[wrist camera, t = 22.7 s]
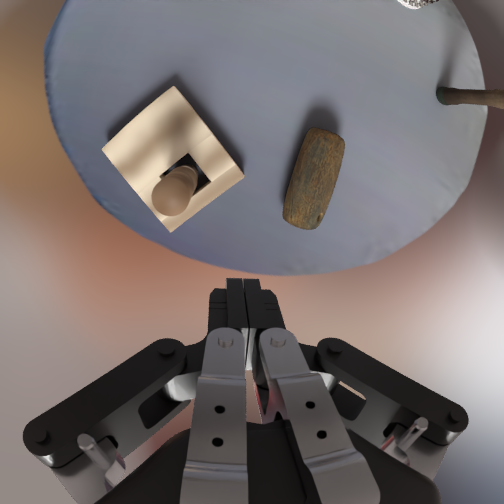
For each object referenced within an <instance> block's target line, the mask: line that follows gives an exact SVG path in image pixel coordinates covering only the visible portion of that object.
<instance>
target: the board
mask: <svg viewBox="0 0 504 504" xmlns="http://www.w3.org/2000/svg"><path fill="white" fill-rule="evenodd" d="M102 151H103V152H104V153H105V154H106V156H107V157H108V158H109V159H110V161H111V162H112V163H113V164H114V166H115V167H116V168H117V169H118V171H119V172H120V173H121V174H122V176H123V177H124V178H125V179H126V181H127V182H128V183H129V184H130V185H131V187H132V188H133V189H134V190H135V191H136V193H137V194H138V195H139V196H140V197H141V199H142V200H143V201H144V202H145V203H146V205H147V206H148V207H149V208H150V209H151V210H152V212H153V213H154V214H155V215H156V216H157V217H158V219H159V220H160V221H161V222H162V223H163V224H164V226H165V227H166V228H167V229H168V230H169V231H170V232H172V231H173V230H175V229H176V228H177V227H179V226H180V225H181V224H182V223H184V222H185V221H186V220H187V219H189V218H190V217H191V216H193V215H194V214H195V213H197V212H198V211H199V210H200V209H202V208H203V207H204V206H206V205H207V204H208V203H210V202H211V201H212V200H214V199H215V198H216V197H218V196H219V195H221V194H222V193H223V192H225V191H226V190H227V189H229V188H230V187H231V186H233V185H234V184H236V183H237V182H238V181H240V180H241V179H243V178H244V177H245V176H244V173H243V172H242V171H241V169H240V168H239V167H238V165H237V164H236V163H235V161H234V160H233V159H232V157H231V156H230V155H229V153H228V152H227V151H226V149H225V148H224V147H223V146H222V144H221V143H220V142H219V140H218V139H217V138H216V136H215V135H214V134H213V133H212V131H211V130H210V129H209V128H208V126H207V125H206V124H205V122H204V121H203V120H202V119H201V117H200V116H199V115H198V114H197V112H196V111H195V110H194V109H193V107H192V106H191V105H190V104H189V102H188V101H187V100H186V99H185V97H184V96H183V95H182V94H181V92H180V91H179V90H178V89H177V88H176V87H175V86H172V87H171V88H170V89H169V90H167V91H166V92H165V93H163V94H162V95H161V96H160V97H158V98H157V99H156V100H155V101H154V102H152V103H151V104H150V105H149V106H148V107H146V108H145V109H144V110H143V111H142V112H141V113H139V114H138V115H137V116H136V117H135V118H134V119H133V120H132V121H130V122H129V123H128V124H127V125H126V126H125V127H124V128H123V129H122V130H121V131H120V132H119V133H118V134H117V135H116V136H115V137H113V138H112V139H111V140H110V141H109V142H108V143H107V144H106V145H105V146H104V147H103V149H102ZM187 153H189V154H190V155H191V157H192V158H193V159H194V160H195V162H196V163H197V164H198V165H199V167H200V168H201V169H202V170H203V172H204V173H205V174H206V176H207V177H208V178H209V179H210V181H208V182H207V183H206V184H204V185H203V186H202V187H200V188H199V189H198V190H197V191H195V192H194V193H193V195H192V197H191V200H190V202H189V204H188V206H187V208H186V209H185V211H184V212H182V213H181V214H179V215H177V216H165V215H163V214H161V213H159V212H158V211H157V210H156V209H155V208H154V206H153V203H152V199H151V195H152V191H153V188H154V187H155V185H156V184H157V183H158V182H159V181H161V180H162V179H163V178H164V177H165V175H164V174H163V173H164V172H165V171H166V170H167V169H169V168H170V167H171V166H172V165H173V164H175V163H176V162H177V161H178V160H180V159H181V158H182V157H183V156H185V155H186V154H187Z"/></svg>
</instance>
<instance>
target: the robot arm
mask: <svg viewBox="0 0 504 504" xmlns="http://www.w3.org/2000/svg"><path fill="white" fill-rule="evenodd" d="M208 318H209V319H208V333H207V335H206V337H205V338H204V339H203V340H202V341H200V342H198V343H196V344H192V345H188V346H184V345H183V344H182V343H181V342H180V341H178V340H175V339H169V338H165V339H160V340H157V341H155V342H153V343H152V344H150V345H149V346H147V347H146V348H144V349H143V350H141V351H140V352H138V353H137V354H135V355H134V356H132V357H131V358H129V359H128V360H126V361H125V362H123V363H121V364H120V365H118V366H117V367H115V368H114V369H113V370H111V371H109V372H108V373H106V374H104V375H103V376H101V377H100V378H98V379H97V380H95V381H94V382H92V383H91V384H89V385H87V386H86V387H84V388H83V389H81V390H80V391H78V392H76V393H75V394H73V395H72V396H70V397H68V398H67V399H65V400H64V401H62V402H61V403H59V404H57V405H56V406H55V407H53V408H51V409H49V410H48V411H46V412H44V413H43V414H41V415H40V416H38V417H36V418H35V419H33V420H32V421H30V422H29V423H28V424H27V425H26V427H25V429H24V431H23V441H24V444H25V446H26V448H27V449H28V450H29V451H30V452H31V453H32V454H33V455H34V456H36V457H37V458H38V459H39V460H40V461H41V462H42V463H43V464H45V465H46V466H47V467H48V468H49V469H51V470H52V471H53V472H54V474H55V475H56V477H57V478H58V479H59V481H60V482H61V483H62V485H63V486H64V487H65V489H66V490H67V491H68V492H69V494H70V495H71V496H72V497H73V499H74V500H75V501H76V502H77V503H78V504H441V496H440V492H439V489H438V488H437V486H436V484H435V483H434V482H433V479H434V477H435V475H436V473H437V471H438V469H439V466H440V464H441V462H442V460H443V458H444V455H445V453H446V451H447V448H448V446H449V445H450V444H451V443H452V442H453V441H454V440H455V439H456V438H457V437H458V436H459V435H460V434H461V433H462V432H463V431H464V430H465V429H466V427H467V425H468V415H467V413H466V411H465V409H464V408H463V407H461V406H460V405H458V404H456V403H454V402H453V401H451V400H449V399H447V398H445V397H443V396H441V395H439V394H438V393H435V392H434V391H432V390H430V389H428V388H426V387H424V386H423V385H420V384H419V383H417V382H415V381H414V380H412V379H410V378H408V377H406V376H404V375H403V374H401V373H399V372H397V371H395V370H394V369H392V368H390V367H388V366H386V365H385V364H383V363H381V362H379V361H378V360H376V359H374V358H372V357H371V356H369V355H367V354H365V353H364V352H362V351H360V350H358V349H357V348H355V347H353V346H351V345H350V344H348V343H346V342H345V341H342V340H340V339H337V338H325V339H322V340H321V341H320V342H319V343H318V345H317V347H315V346H310V345H305V344H301V343H298V342H297V339H296V337H295V336H294V335H293V334H292V333H291V332H290V331H288V330H286V328H285V325H284V321H283V318H282V314H281V311H280V307H279V305H278V300H277V297H276V295H275V294H274V293H273V292H272V291H271V290H261V286H260V282H259V279H243V281H242V278H226V289H219V288H215V289H214V290H213V291H212V292H211V294H210V299H209V317H208ZM245 367H246V370H252V373H253V379H254V383H253V385H254V390H255V394H256V398H257V403H258V407H259V411H260V415H261V420H262V424H256V423H251V422H246V379H245ZM340 381H342V382H343V383H345V384H347V385H348V386H350V387H351V388H353V389H354V390H356V391H358V392H360V393H361V394H362V395H363V396H364V397H365V398H366V400H364V399H362V398H361V397H359V396H357V395H356V394H354V393H353V392H351V391H349V390H348V389H346V388H345V387H343V386H342V385H340V384H339V382H340ZM193 398H195V402H194V409H193V415H192V422H191V428H190V429H187V430H184V431H182V432H180V433H178V434H176V435H174V436H173V437H171V438H170V439H169V440H167V441H166V442H165V443H164V444H163V445H162V446H161V447H160V448H159V449H158V450H157V451H155V452H154V453H153V454H152V455H151V456H150V457H149V458H148V459H147V460H146V461H144V462H143V463H142V464H141V465H140V466H139V467H138V468H136V469H135V470H134V471H133V472H132V473H131V474H129V475H128V476H127V477H126V478H125V479H124V480H122V481H121V482H120V483H119V484H118V485H116V484H117V482H118V480H119V479H120V478H121V477H122V476H123V475H124V473H125V469H126V465H125V461H124V458H125V457H126V456H127V455H129V454H130V453H131V452H133V451H134V450H135V449H136V448H137V447H139V446H140V445H141V444H142V443H144V442H145V441H146V440H148V439H149V438H150V437H151V436H152V435H154V434H155V433H156V432H157V431H158V430H160V429H161V428H162V427H163V426H164V425H165V424H166V423H168V422H169V421H170V420H171V419H172V418H174V417H175V416H176V415H177V414H178V413H180V412H181V411H182V410H183V409H184V408H185V407H186V406H188V404H189V403H190V402H191V399H193Z"/></svg>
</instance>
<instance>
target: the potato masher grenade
mask: <svg viewBox="0 0 504 504" xmlns="http://www.w3.org/2000/svg"><path fill="white" fill-rule="evenodd" d="M437 99H438V101H439V102H440V103H442V104H443V105H458V104H462V103H463V104H477V105H487V106H495V107H498V108H500V109H504V90H500V89H495V90H471V89H457V88H447V87H441V88H439V89H438V90H437Z"/></svg>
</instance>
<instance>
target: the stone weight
mask: <svg viewBox="0 0 504 504" xmlns="http://www.w3.org/2000/svg"><path fill="white" fill-rule="evenodd" d="M344 149H345V142H344V140H343V139H342V138H341V137H340V136H339V135H337V134H335V133H332V132H329V131H327V130H323V129H319V128H314V127H312V128H311V129H309V131H308V132H307V134H306V136H305V139H304V141H303V144H302V147H301V149H300V152H299V155H298V158H297V161H296V164H295V168H294V171H293V174H292V177H291V181H290V184H289V187H288V190H287V194H286V198H285V202H284V207H283V219H284V220H285V221H287V222H288V223H290V224H291V225H293V226H295V227H298V228H301V229H306V230H312V229H316V228H317V227H318V226H319V224H320V223H321V221H322V219H323V217H324V215H325V212H326V210H327V207H328V205H329V202H330V199H331V196H332V194H333V190H334V188H335V184H336V181H337V178H338V174H339V171H340V167H341V163H342V158H343V155H344Z"/></svg>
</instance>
